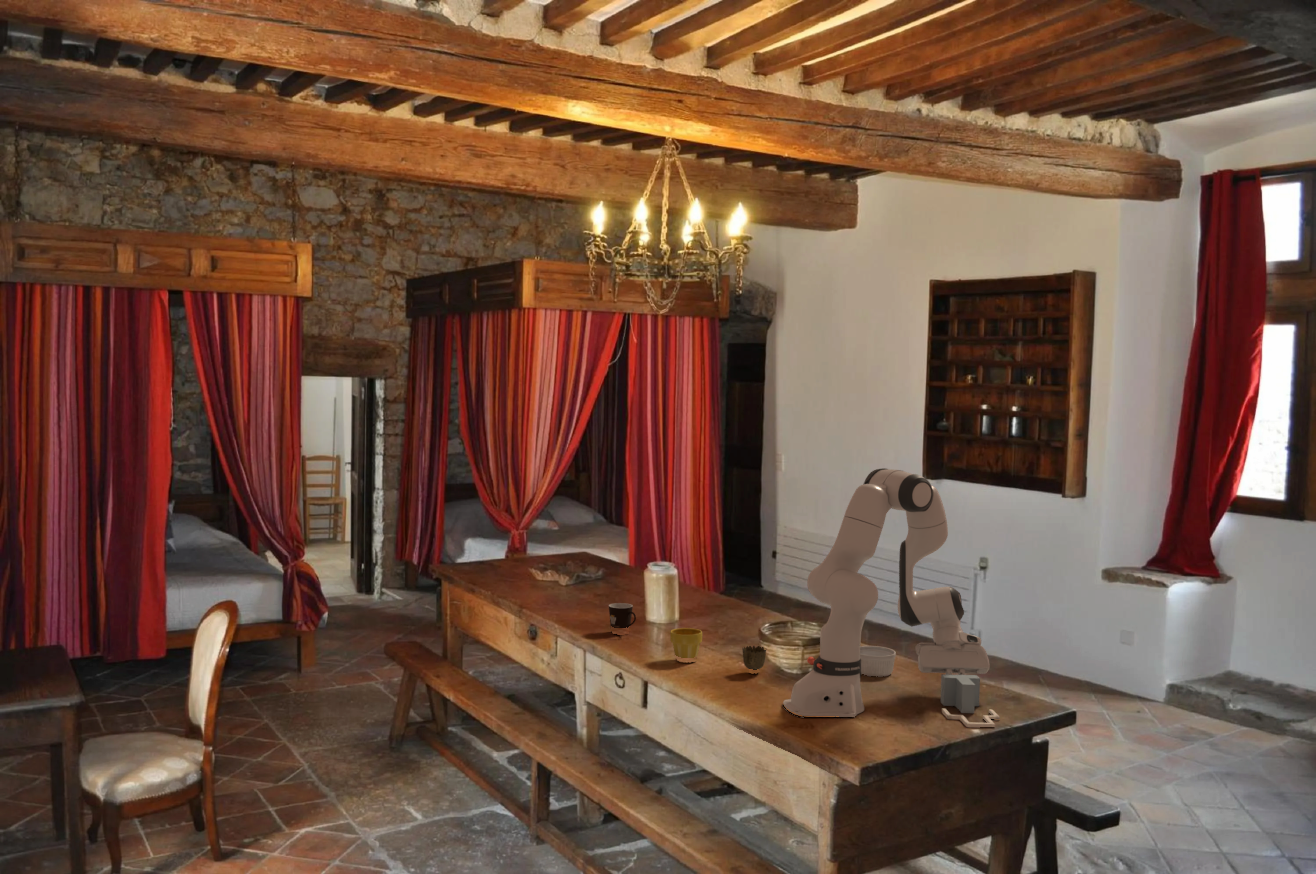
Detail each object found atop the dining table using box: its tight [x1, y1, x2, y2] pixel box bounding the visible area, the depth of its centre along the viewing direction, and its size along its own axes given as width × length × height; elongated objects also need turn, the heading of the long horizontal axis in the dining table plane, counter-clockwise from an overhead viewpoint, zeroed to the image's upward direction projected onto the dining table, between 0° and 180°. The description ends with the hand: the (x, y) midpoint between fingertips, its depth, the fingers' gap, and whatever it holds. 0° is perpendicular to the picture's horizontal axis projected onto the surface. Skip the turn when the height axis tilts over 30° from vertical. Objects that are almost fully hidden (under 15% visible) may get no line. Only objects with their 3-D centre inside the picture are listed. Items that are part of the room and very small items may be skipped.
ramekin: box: [860, 645, 897, 678], centre depth 338 cm, size 13×13×7 cm
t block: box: [940, 673, 981, 714], centre depth 302 cm, size 10×10×8 cm
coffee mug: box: [608, 602, 637, 628], centre depth 382 cm, size 12×9×10 cm
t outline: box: [941, 708, 1001, 728], centre depth 292 cm, size 14×13×1 cm
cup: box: [742, 645, 767, 670], centre depth 334 cm, size 8×7×8 cm
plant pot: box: [669, 627, 703, 658], centre depth 347 cm, size 10×10×10 cm
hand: (957, 685), depth 308 cm, fingers closed
